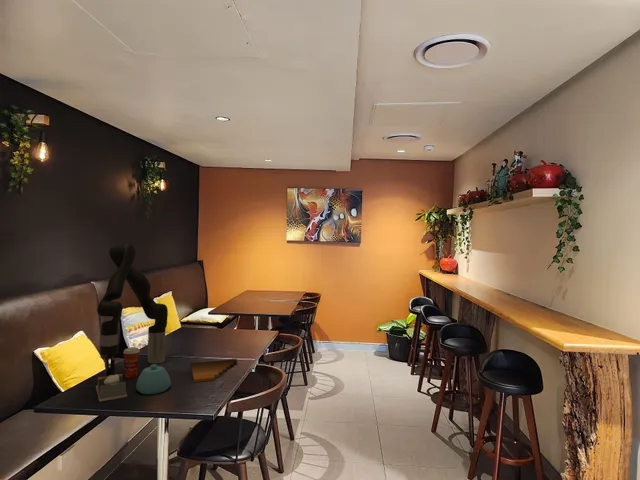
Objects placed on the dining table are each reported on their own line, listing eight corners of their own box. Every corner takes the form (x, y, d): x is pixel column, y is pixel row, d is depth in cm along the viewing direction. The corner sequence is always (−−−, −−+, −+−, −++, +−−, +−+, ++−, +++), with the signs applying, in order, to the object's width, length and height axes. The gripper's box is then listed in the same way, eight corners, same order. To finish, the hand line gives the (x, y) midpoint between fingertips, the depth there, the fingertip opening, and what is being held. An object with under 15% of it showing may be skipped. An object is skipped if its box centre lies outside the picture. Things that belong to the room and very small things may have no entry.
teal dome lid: (160, 381, 202) (160, 358, 202) (176, 389, 192) (177, 364, 192) (130, 390, 190) (130, 365, 190) (146, 398, 181) (146, 372, 181)
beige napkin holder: (95, 387, 192) (96, 374, 192) (121, 383, 198) (121, 371, 198) (99, 401, 176) (99, 387, 176) (127, 396, 182) (127, 383, 182)
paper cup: (121, 379, 203) (121, 351, 203) (124, 374, 211) (124, 347, 211) (138, 378, 205) (138, 350, 205) (140, 373, 213) (141, 346, 213)
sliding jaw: (97, 387, 189) (98, 377, 189) (121, 384, 194) (121, 373, 194) (98, 389, 186) (98, 379, 186) (122, 385, 192) (122, 375, 192)
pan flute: (235, 364, 233) (190, 368, 224) (235, 358, 233) (190, 362, 224) (244, 378, 210) (193, 383, 201) (244, 371, 210) (193, 376, 201)
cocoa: (114, 395, 182) (116, 372, 179) (99, 393, 182) (101, 370, 178) (122, 382, 191) (124, 360, 188) (109, 380, 191) (110, 358, 187)
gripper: (99, 341, 196) (98, 376, 196) (101, 347, 185) (100, 385, 185) (116, 339, 200) (115, 374, 200) (119, 345, 189) (118, 383, 189)
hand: (108, 379), depth 193 cm, fingers closed
